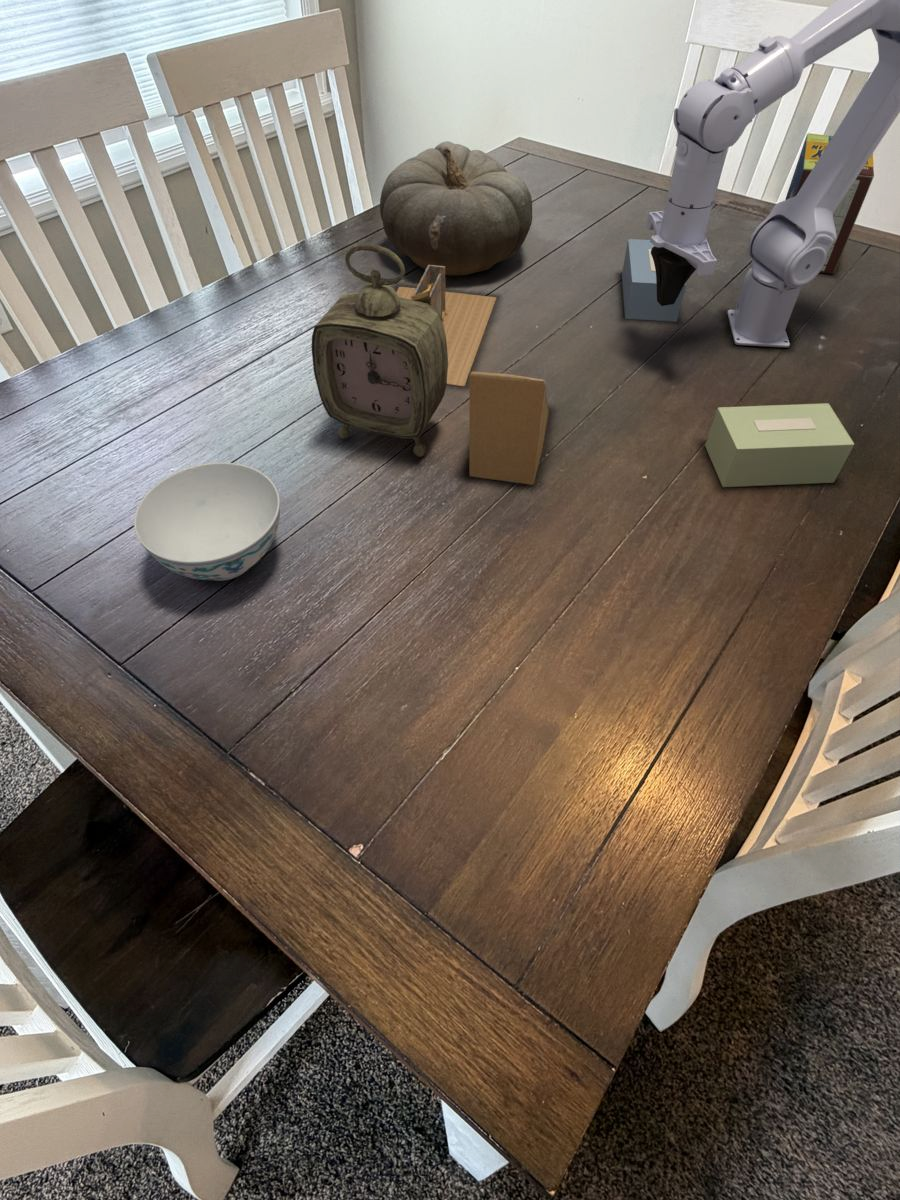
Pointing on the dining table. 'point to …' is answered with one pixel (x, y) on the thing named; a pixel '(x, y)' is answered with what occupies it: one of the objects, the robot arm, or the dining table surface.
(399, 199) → the gourd
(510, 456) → the sandwich container
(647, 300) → the back tissue box
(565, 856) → the dining table surface
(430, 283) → the architectural model on board
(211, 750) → the dining table surface
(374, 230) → the dining table surface
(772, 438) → the front tissue box
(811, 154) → the protein box
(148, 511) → the chinaware
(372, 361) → the tabletop clock
